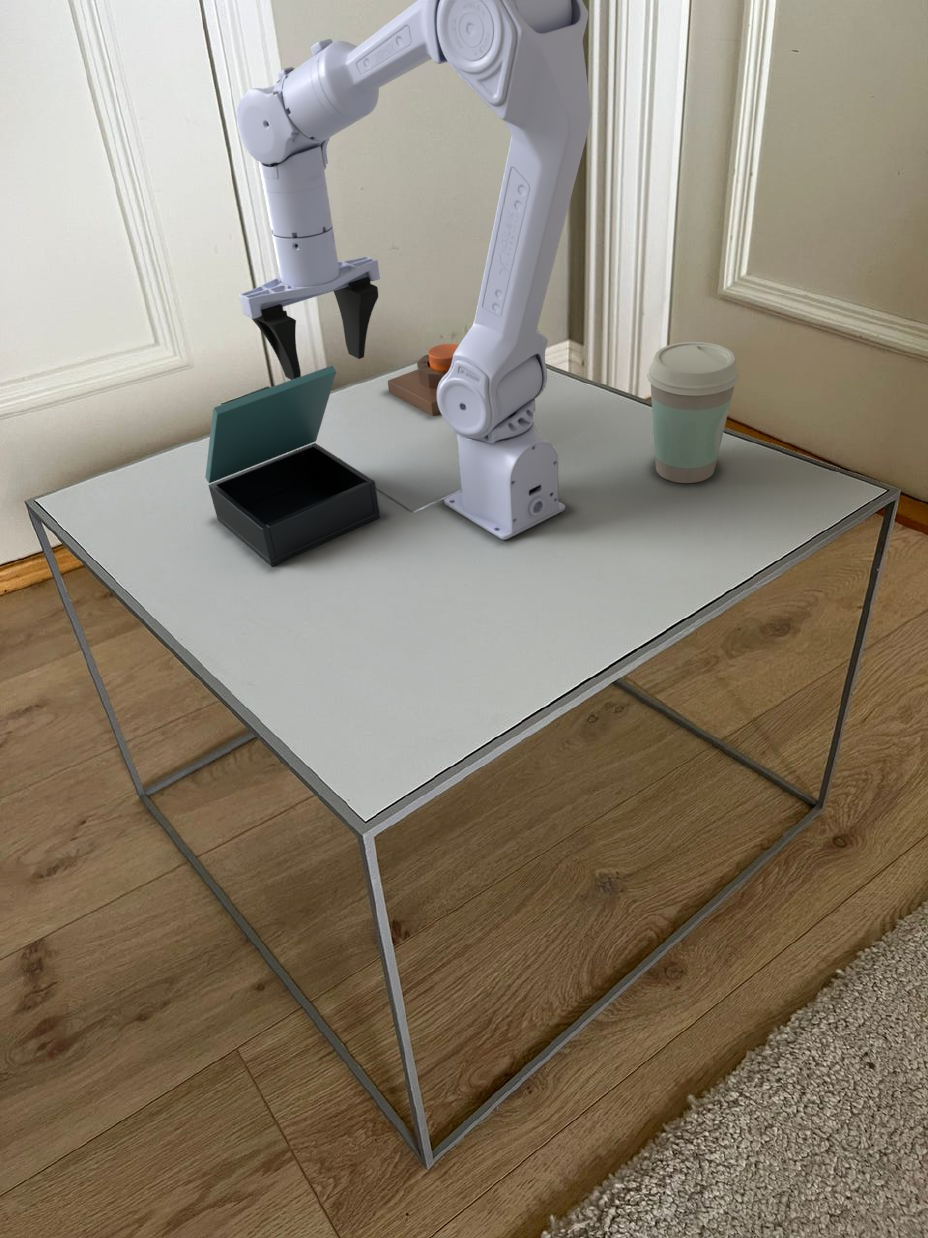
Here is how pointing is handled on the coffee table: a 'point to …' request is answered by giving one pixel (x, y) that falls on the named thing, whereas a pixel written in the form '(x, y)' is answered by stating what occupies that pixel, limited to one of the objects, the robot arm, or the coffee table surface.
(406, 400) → the block
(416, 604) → the coffee table surface
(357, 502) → the open-top box
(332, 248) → the robot arm
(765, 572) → the coffee table surface
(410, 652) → the coffee table surface
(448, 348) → the button
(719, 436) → the coffee cup
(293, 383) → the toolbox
